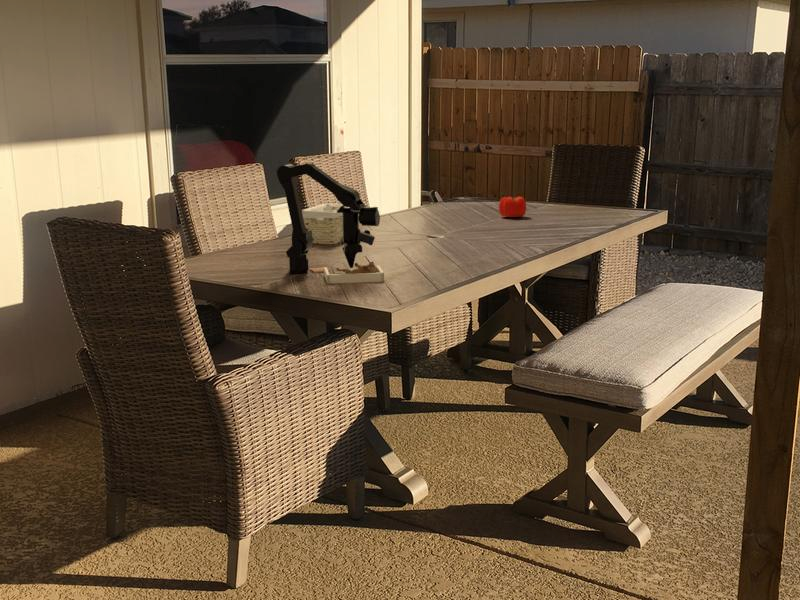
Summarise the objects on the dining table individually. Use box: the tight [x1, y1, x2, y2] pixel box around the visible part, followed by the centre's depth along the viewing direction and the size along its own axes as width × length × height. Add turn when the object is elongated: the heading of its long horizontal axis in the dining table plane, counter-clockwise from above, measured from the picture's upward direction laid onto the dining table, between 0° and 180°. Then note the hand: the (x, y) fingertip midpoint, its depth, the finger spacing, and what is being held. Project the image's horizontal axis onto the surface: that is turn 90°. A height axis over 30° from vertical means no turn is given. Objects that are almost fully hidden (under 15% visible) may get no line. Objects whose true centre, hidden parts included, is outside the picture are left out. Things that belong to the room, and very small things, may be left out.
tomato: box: [498, 196, 527, 218], centre depth 485 cm, size 14×13×10 cm
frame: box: [323, 265, 385, 284], centre depth 344 cm, size 20×14×3 cm
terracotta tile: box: [308, 266, 331, 274], centre depth 358 cm, size 6×6×1 cm
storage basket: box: [302, 202, 350, 245], centre depth 423 cm, size 24×16×15 cm
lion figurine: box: [335, 261, 378, 274], centre depth 345 cm, size 15×5×9 cm
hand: (351, 267), depth 350 cm, fingers closed
